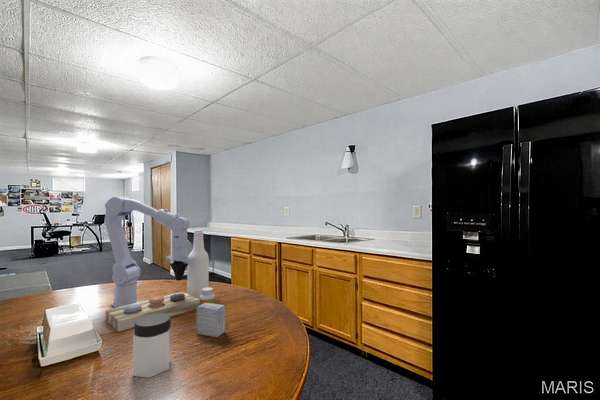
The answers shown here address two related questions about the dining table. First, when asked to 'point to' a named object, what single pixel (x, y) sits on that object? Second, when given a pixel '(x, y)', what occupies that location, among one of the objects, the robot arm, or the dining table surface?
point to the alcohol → (198, 266)
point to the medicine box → (211, 319)
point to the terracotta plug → (156, 301)
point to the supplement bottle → (207, 296)
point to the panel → (150, 311)
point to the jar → (151, 345)
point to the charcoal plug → (177, 297)
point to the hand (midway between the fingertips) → (179, 280)
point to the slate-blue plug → (132, 308)
